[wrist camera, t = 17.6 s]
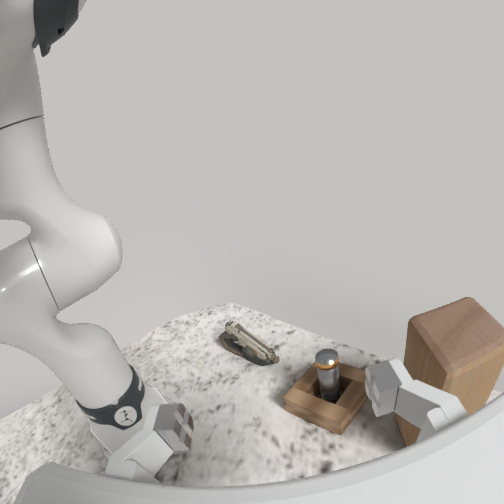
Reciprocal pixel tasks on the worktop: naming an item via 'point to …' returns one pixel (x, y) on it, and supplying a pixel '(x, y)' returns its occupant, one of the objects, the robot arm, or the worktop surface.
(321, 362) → the grey metal cylinder
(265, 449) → the worktop surface
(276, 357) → the futuristic pistol
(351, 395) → the bore block
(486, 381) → the wooden block
